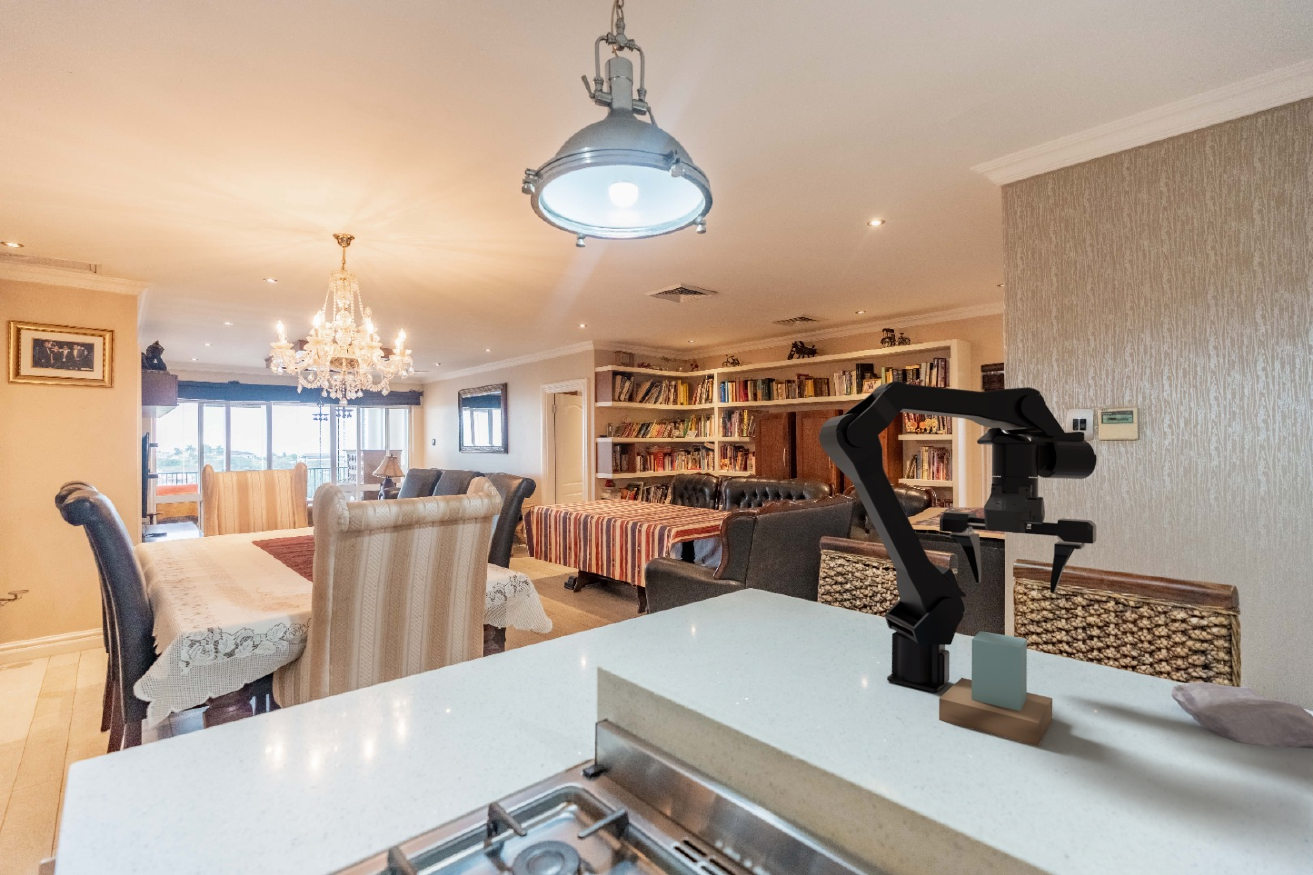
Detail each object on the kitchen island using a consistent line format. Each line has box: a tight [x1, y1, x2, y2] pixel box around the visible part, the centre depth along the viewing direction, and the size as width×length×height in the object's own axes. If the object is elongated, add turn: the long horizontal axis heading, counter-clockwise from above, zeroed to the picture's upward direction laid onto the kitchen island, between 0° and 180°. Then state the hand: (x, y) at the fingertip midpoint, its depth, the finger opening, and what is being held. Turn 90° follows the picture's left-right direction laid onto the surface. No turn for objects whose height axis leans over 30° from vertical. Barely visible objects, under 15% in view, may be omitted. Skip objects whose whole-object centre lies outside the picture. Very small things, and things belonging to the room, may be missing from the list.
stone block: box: [1171, 681, 1313, 749], centre depth 74 cm, size 12×5×10 cm
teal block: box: [971, 630, 1028, 711], centre depth 73 cm, size 5×5×7 cm
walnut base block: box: [938, 677, 1053, 747], centre depth 73 cm, size 10×10×3 cm
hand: (1014, 587), depth 88 cm, fingers open, 9 cm apart
